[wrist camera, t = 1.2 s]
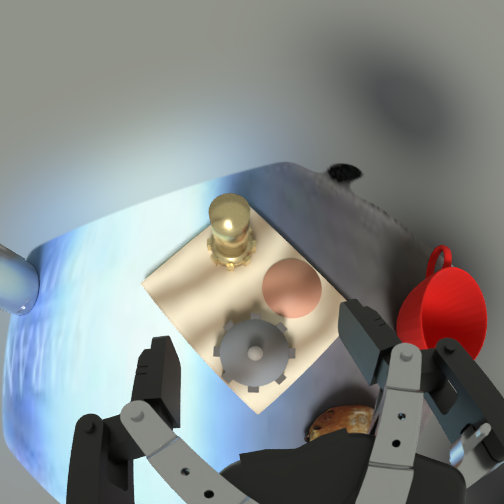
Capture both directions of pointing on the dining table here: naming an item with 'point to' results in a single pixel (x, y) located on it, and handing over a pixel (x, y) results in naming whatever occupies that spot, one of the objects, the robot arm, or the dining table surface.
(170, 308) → the gear board
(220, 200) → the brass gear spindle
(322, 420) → the bread roll
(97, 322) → the dining table surface
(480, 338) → the ceramic cup
